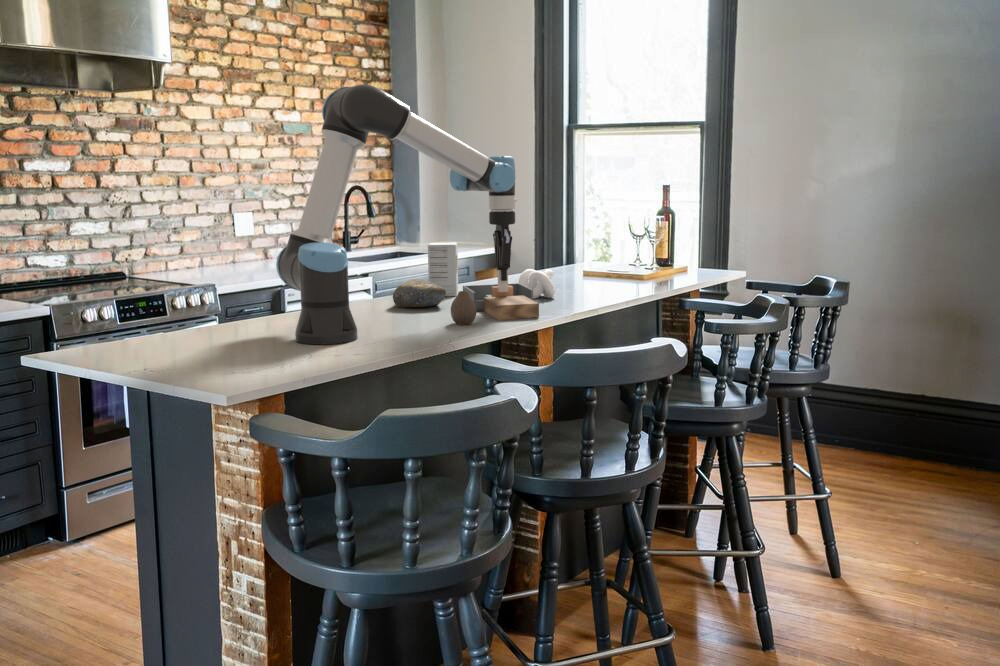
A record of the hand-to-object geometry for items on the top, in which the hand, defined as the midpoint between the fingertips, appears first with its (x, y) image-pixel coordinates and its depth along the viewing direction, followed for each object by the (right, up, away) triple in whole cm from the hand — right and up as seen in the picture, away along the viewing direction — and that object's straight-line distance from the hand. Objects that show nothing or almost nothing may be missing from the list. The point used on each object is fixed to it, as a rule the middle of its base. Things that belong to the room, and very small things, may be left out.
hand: (503, 291), depth 268 cm
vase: (-11, -10, -22) cm, 26 cm away
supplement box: (-19, 0, +33) cm, 38 cm away
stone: (-25, -5, +8) cm, 27 cm away
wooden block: (+2, -7, -7) cm, 10 cm away
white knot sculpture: (+12, -1, +23) cm, 26 cm away
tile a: (0, -2, +1) cm, 2 cm away
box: (-2, -4, +8) cm, 9 cm away
